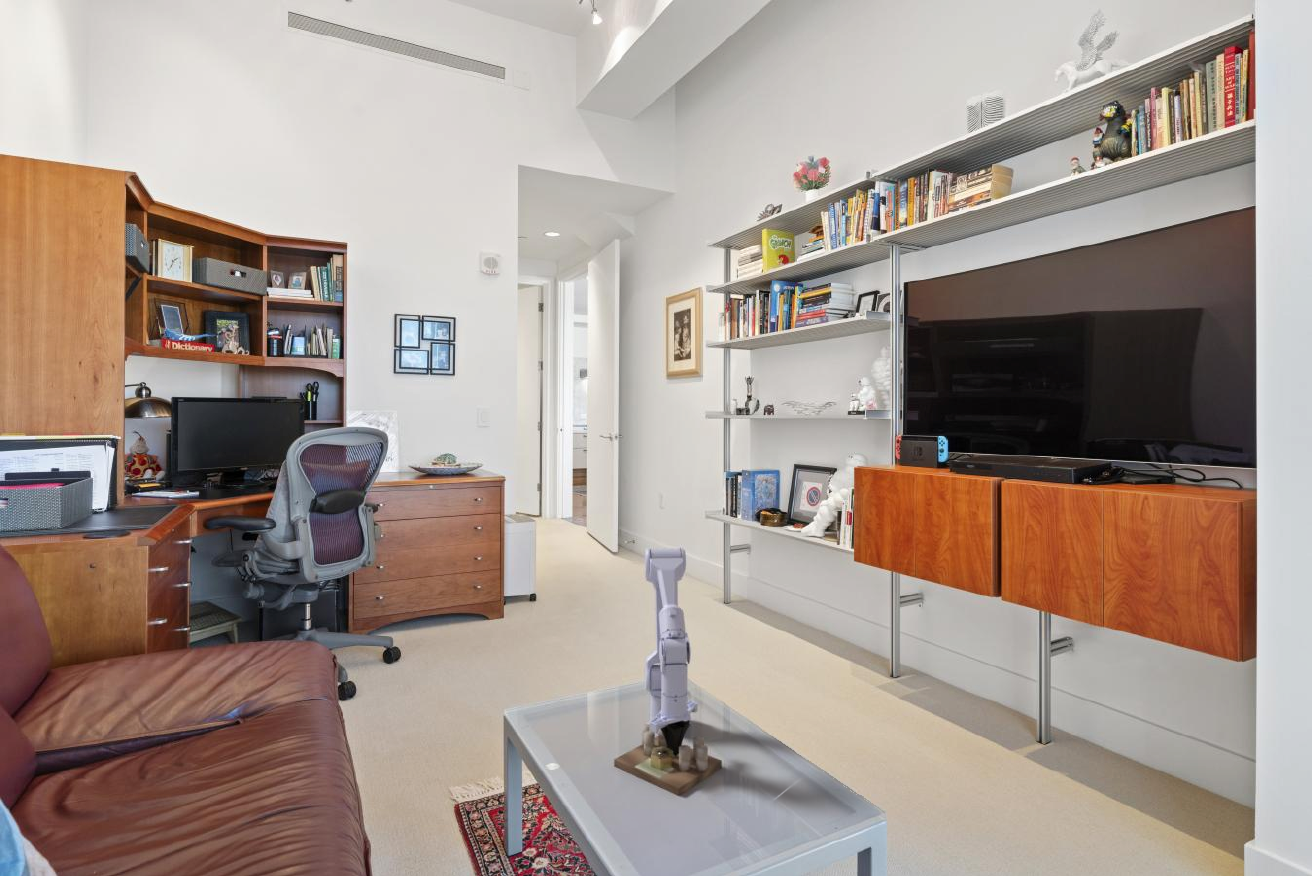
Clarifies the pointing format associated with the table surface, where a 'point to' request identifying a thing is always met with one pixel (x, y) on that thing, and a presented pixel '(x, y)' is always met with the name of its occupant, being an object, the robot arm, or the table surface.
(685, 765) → the board
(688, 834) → the table surface
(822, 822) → the table surface
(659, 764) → the nut
